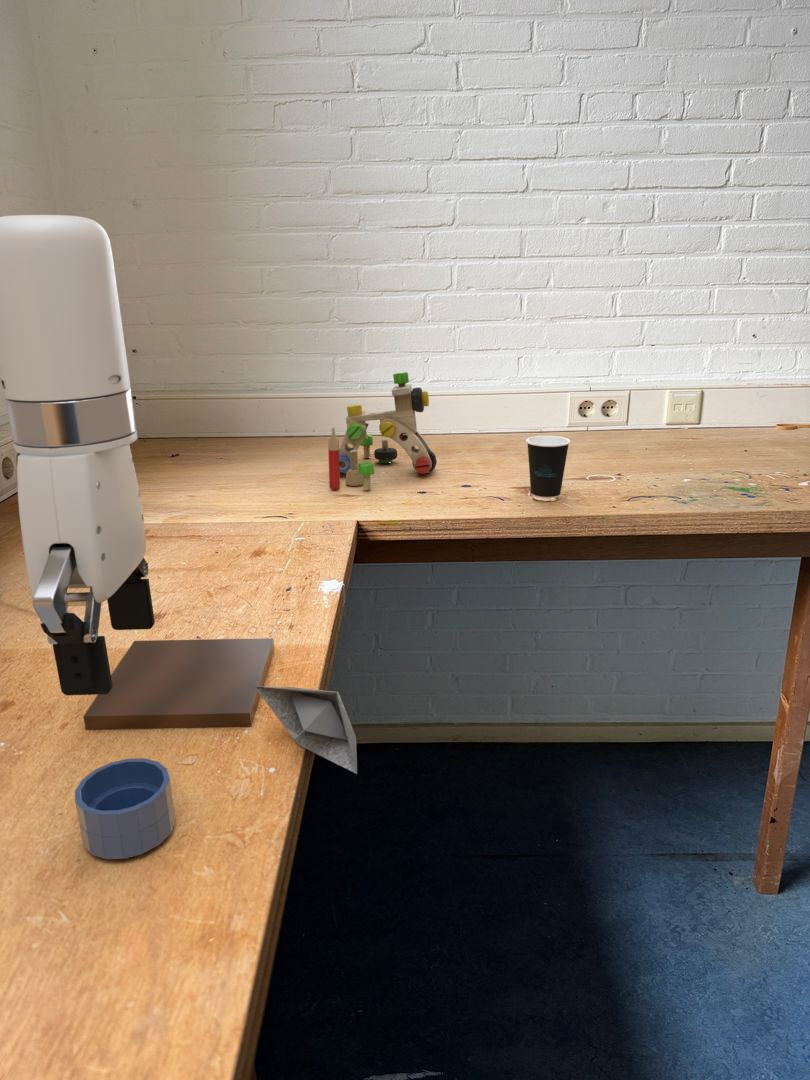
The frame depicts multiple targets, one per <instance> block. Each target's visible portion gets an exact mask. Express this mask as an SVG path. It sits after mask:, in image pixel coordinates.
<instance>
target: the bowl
mask: <svg viewBox="0 0 810 1080" xmlns="http://www.w3.org/2000/svg"><path fill="white" fill-rule="evenodd" d="M172 790H173V789H172V785H171V777H170V773H169V769H168V768H167V767H166V766H165V765H164V764H162V763H161V762H159V761H157V760H153V759H149V758H144V757H139V758H135V757H134V758H125V759H120V760H115V761H112V762H111V761H110V762H109V763H107V764H104V765H102V766H100V767H98V768H96V769H94V770H92V771H91V772H90V773H88V774H87V775H86V776H85V777H84V778H82V779H81V780H80V782H79V783H78V785H77V787H76V788H75V790H74V802H75V808H76V814H77V820H78V824H79V831H80V837H81V841H82V845H83V847H84V848H85V849H86V850H87V851H88V852H89V854H90V855H92V856H94V857H98V858H102V859H105V860H125V859H130V858H134V857H137V856H141V855H143V854H145V853H147V852H150V851H151V850H152V849H154V848H156V847H158V846H160V845H161V844H162V843H163V842H164V841H165V840H166V839H167V838H168V837H169V836H170V835H171V833H172V832H173V829H174V826H175V823H176V814H175V807H174V806H175V805H174V799H173V791H172ZM133 856H134V857H133ZM129 857H130V858H129Z"/></svg>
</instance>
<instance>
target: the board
mask: <svg viewBox="0 0 810 1080" xmlns="http://www.w3.org/2000/svg"><path fill="white" fill-rule="evenodd" d="M274 641H275V639H274V638H272V637H270V638H269V637H268V638H267V637H266V638H223V639H222V638H215V639H213V638H212V639H210V638H209V639H208V638H207V639H158V640H157V639H155V640H154V639H153V640H134V641H133V642H132V643H131V645H130V646H129V648H128V649H127V651H126V652H125V654H124V656H122V658H121V660H120V661H119V662H118V664H117V666H116V667H115V669H114V670H113V671H112V672H111V678H112V684H113V687H112V689H111V690H110V692H109V693H108V694H101V695H96V696H95V698H94V700H93V701H92V703H91V704H90V706H89V707H88V709H87V710H86V712H85V713H84V715H83V723H84V728H85V730H121V729H122V730H124V729H125V730H126V729H130V730H131V729H175V728H176V729H178V728H180V729H181V728H229V727H230V728H231V727H234V728H235V727H236V728H237V727H252V724H253V721H254V718H255V714H256V712H257V707H258V705H259V701H260V698H261V695H260V693H259V692H258V691H257V689H256V688H255V687H254V686H261V687H264V685H265V681H266V678H267V675H268V672H269V669H270V665H271V662H272V658H273V655H274V652H275V642H274Z"/></svg>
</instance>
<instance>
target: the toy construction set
mask: <svg viewBox="0 0 810 1080" xmlns="http://www.w3.org/2000/svg"><path fill="white" fill-rule="evenodd" d="M392 377H393V384H394V387H392V389H391V396H392V397H393V401H394V409H395V410H386V411H385V410H384V411H377V412H368V413H363V407H362V404H352V405H348V406H347V407H346V410H347V416H346V417H345V423H346V430H345V433H344V436H343V439H342V441H341V444H340V439H339V438H338V436H337V434H336V426H332V427H331V436H330V437H329V438H328V440H327V443H328V447H327V449H328V450H327V451H328V479H329V480H328V481H329V482H328V483H329V489H330V490H333V491H334V490H339V489H340V488H341V478H340V477H341V476H340V475H341V474H340V473H343V474H345V484H346V485H347V486H350V487H357V486H358V487H359V486H362V490H364V491H370V490H371V488H372V487H371V482H372V481H371V476H373V475H374V474H375V464H374V462H372V461H362V462H358V461H359V458H358V457H359V456H358V453H359V452H358V450H359V448H360V446H361V447H362V448H363V449H362V450H363V458H364V459H365V458H369V457H370V458H371V446H372V445H374V436H373V435H372V434H368V432H367V429H368V427H369V425H370V423H368V422H369V421H379V426H378V427H379V428H378V429H379V433H380V434H381V437H384V438H382V439H381V447H379V448H376V449H375V450H374V451H373V453H374V454H373V455H374V456H373V457H374V459H375V460H378V463H379V462H381V463H385V464H387V463H389V462H392V461H394V460H396V459H397V458H398V450H397V449H396V448H394V447H389V439H391V440H393V441H394V442H395V443H397V444H398V445H399V446H400V447H401V448H402V449H403V450H404V451H405V453H406V454H407V455H408V457H409V458H410V460H411V462H412V467H413V469H414V470H415V471H416V472H417V473H419V474H422V475H423V474H424V475H426V474H425V473H427V472H430V473H432V472H433V471H434V470H435V468H436V466H437V463H438V460H437V456H436V454H435V453H434V452H433V451H432V449H431V447H430V445H429V443H428V442H427V441H426V439H425V438H424V437H423V435H422V434H421V433H420V432H419V431H418V428H417V427H418V426H417V417H416V413H423V412H424V411H425V407H429V406H430V399H429V398H430V397H429V393H428V391H427V390H425V391H423V389H422V387H413V385H412V383H409V382H410V380H409V379H410V378H409V373H408V372H407V371H403V372H396V373H393V375H392ZM387 438H389V439H387ZM348 444H350V445H352V447H351V446H349V445H348ZM417 447H418V448H417ZM381 463H380V464H381ZM392 463H393V462H392ZM427 474H428V473H427Z"/></svg>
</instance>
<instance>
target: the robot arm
mask: <svg viewBox="0 0 810 1080" xmlns="http://www.w3.org/2000/svg"><path fill="white" fill-rule="evenodd" d="M117 284H118V283H117V278H116V270H115V263H114V256H113V250H112V245H111V240H110V238H109V235H108V233H107V231H106V229H104V227H103V226H102V225H101V224H100V223H99V222H97V221H96V220H95V219H91V218H88V217H85V216H77V215H70V214H69V215H68V214H67V215H65V214H64V215H63V214H17V215H15V214H14V215H5V216H4V215H3V216H0V380H1V386H2V391H3V396H4V401H5V406H6V412H7V417H8V423H9V427H10V433H11V438H12V443H13V448H14V451H15V452H16V453H18V454H19V455H18V456H17V461H16V462H17V466H16V467H17V471H16V476H17V477H16V478H17V479H16V480H17V501H18V514H19V523H20V530H21V531H20V532H21V539H22V548H23V554H24V562H25V569H26V575H27V580H28V581H27V582H28V586H29V591H30V595H31V598H32V607H33V609H34V611H35V613H36V614H37V617H38V618H39V620H40V622H41V623H40V627H41V629H42V630H43V633H44V634H45V635H46V636H47V637H46V638H47V642H48V643H49V645H52V649H53V654H54V659H55V660H54V661H55V665H56V670H57V675H58V682H59V685H60V691H61V693H62V694H63V695H65V696H93V695H94V696H97V695H101V694H108V693H109V692H110V690H111V689H112V687H113V684H112V678H111V675H112V672H111V667H110V661H109V654H108V649H107V643H106V636H105V635H99V629H100V620H101V619H100V618H101V611H102V603H104V602H106V601H107V608H108V613H109V619H110V620H109V621H110V626H111V628H112V629H113V630H115V631H130V630H131V631H132V630H133V631H134V630H135V631H136V630H137V631H138V630H151V629H152V628H153V627H154V625H155V623H156V621H155V615H154V607H153V599H152V593H151V586H150V578H147V577H148V576H149V564H148V561H147V560H146V558H145V555H146V550H147V538H146V537H147V536H146V526H145V519H144V511H143V505H142V499H141V494H140V488H139V483H138V477H137V473H136V468H135V463H134V459H133V454H132V450H131V444H134V443H135V441H137V440H138V439H139V437H138V431H137V424H136V423H137V422H136V415H135V408H134V403H133V402H134V401H133V395H132V388H131V380H130V370H129V364H128V357H127V351H126V343H125V335H124V328H123V327H124V326H123V321H122V314H121V307H120V299H119V293H118V285H117ZM68 589H70V590H71V589H89V591H86V592H85V591H83V592H68ZM69 607H84V608H85V609H84V610H85V611H84V617H83V619H81V618H80V617H79V616H78V615H77V614H75V613H74V612H68V608H69Z"/></svg>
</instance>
